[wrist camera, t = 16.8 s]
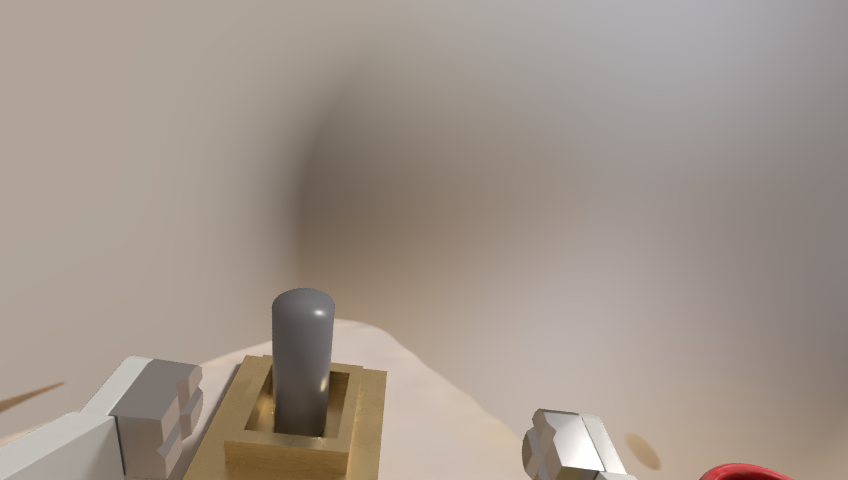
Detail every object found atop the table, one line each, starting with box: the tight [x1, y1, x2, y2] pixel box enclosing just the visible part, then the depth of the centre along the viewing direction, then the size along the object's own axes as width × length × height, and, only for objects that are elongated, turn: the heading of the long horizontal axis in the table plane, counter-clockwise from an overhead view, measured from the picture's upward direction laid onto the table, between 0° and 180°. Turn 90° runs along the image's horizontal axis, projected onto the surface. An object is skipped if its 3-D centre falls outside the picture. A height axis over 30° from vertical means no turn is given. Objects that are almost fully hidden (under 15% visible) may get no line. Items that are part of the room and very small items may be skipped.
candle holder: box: [182, 355, 387, 480], centre depth 42 cm, size 16×16×4 cm
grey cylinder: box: [272, 288, 335, 437], centre depth 39 cm, size 5×5×14 cm
